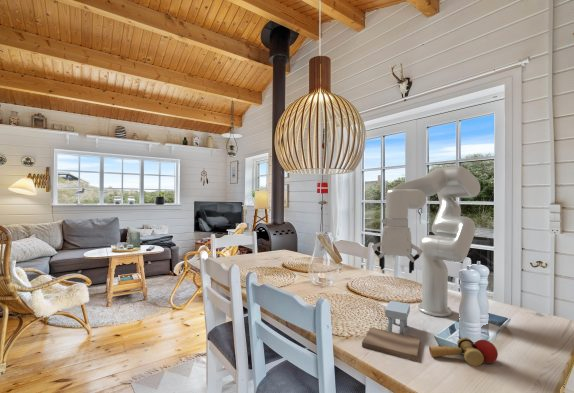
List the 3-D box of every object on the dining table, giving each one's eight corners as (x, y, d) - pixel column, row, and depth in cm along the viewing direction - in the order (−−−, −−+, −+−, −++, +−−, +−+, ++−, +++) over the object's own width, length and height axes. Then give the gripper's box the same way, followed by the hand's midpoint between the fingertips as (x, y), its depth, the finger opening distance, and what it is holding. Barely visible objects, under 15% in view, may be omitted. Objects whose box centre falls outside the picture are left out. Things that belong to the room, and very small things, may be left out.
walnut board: (370, 331, 103) (370, 327, 103) (420, 342, 95) (420, 338, 95) (361, 346, 92) (361, 342, 92) (416, 360, 85) (416, 355, 85)
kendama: (437, 369, 83) (506, 367, 80) (432, 346, 84) (500, 342, 81) (429, 359, 90) (492, 357, 88) (425, 338, 92) (487, 334, 89)
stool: (389, 321, 111) (390, 300, 111) (409, 325, 108) (409, 304, 108) (384, 332, 103) (385, 309, 102) (406, 336, 99) (406, 313, 99)
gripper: (370, 222, 106) (369, 269, 106) (422, 225, 98) (421, 276, 98) (374, 221, 113) (374, 265, 113) (423, 223, 104) (423, 271, 104)
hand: (396, 270), depth 105 cm, fingers open, 9 cm apart
